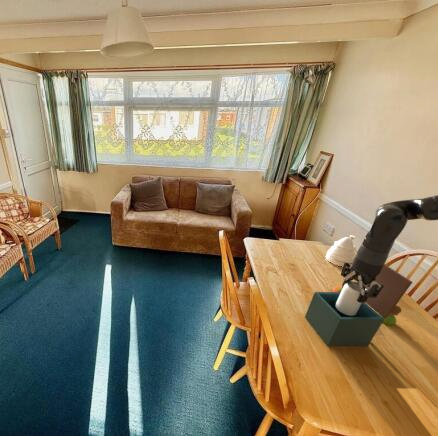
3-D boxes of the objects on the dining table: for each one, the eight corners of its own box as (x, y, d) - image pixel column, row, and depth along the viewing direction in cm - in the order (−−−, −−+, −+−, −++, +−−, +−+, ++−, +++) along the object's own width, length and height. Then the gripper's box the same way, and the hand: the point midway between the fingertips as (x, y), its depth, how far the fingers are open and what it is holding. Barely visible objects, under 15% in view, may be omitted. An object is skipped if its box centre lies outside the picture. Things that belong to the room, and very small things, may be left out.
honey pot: (344, 257, 144) (355, 232, 136) (356, 269, 132) (368, 242, 125) (321, 254, 146) (330, 229, 139) (331, 266, 135) (342, 239, 128)
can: (359, 317, 86) (372, 293, 81) (340, 315, 87) (352, 291, 82) (349, 304, 92) (360, 281, 87) (331, 302, 93) (341, 279, 88)
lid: (410, 281, 75) (412, 282, 75) (372, 257, 88) (374, 257, 88) (384, 318, 82) (386, 318, 82) (352, 291, 95) (354, 291, 95)
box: (327, 346, 88) (340, 319, 82) (304, 316, 101) (314, 291, 95) (368, 346, 88) (384, 319, 82) (340, 317, 101) (352, 291, 95)
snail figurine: (370, 315, 102) (382, 295, 97) (389, 320, 99) (402, 300, 94) (375, 324, 98) (387, 303, 93) (395, 330, 95) (409, 309, 90)
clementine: (338, 305, 108) (344, 293, 105) (326, 294, 114) (330, 283, 111) (353, 303, 109) (359, 291, 106) (339, 292, 115) (345, 281, 112)
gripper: (401, 271, 73) (379, 309, 80) (363, 247, 86) (347, 282, 93) (378, 271, 73) (358, 309, 80) (343, 247, 86) (328, 282, 93)
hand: (352, 294), depth 87 cm, fingers closed on can, 6 cm apart
